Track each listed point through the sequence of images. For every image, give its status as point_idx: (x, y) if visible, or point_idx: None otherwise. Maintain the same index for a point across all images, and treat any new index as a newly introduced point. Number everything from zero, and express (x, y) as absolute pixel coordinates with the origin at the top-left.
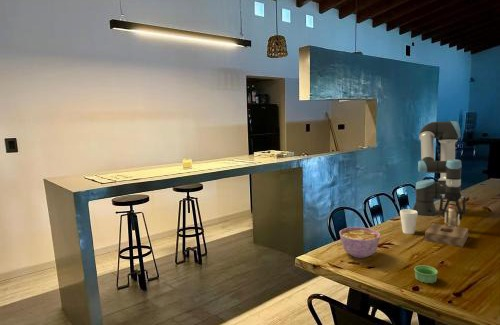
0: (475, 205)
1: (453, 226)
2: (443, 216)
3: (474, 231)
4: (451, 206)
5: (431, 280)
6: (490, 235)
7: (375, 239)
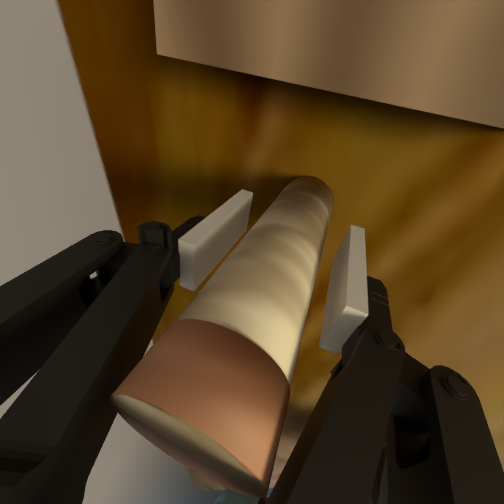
0: None
1: (295, 76)
2: (375, 286)
3: (187, 216)
4: (209, 390)
5: None
6: (119, 165)
7: None
